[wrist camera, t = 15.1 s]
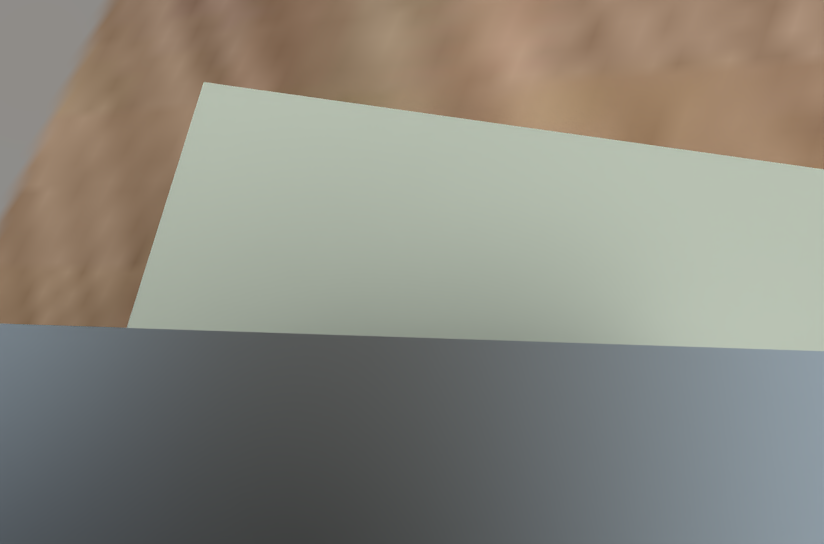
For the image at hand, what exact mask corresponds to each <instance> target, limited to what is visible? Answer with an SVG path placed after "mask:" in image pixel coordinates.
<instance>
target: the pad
mask: <svg viewBox="0 0 824 544" xmlns="http://www.w3.org/2000/svg"><path fill="white" fill-rule="evenodd" d="M127 328H145V329H175V330H204V331H234V332H264V333H294V334H324V335H354V336H384V337H414V338H444V339H473V340H503V341H533V342H563V343H593V344H623V345H653V346H683V347H712V348H742V349H772V350H802V351H824V169H817V168H810V167H803V166H796V165H789V164H781V163H774V162H767V161H760V160H753V159H746V158H739V157H732V156H725V155H717V154H710V153H703V152H696V151H689V150H682V149H675V148H668V147H661V146H654V145H646V144H639V143H632V142H625V141H618V140H611V139H604V138H597V137H590V136H582V135H575V134H568V133H561V132H554V131H547V130H540V129H533V128H526V127H519V126H511V125H504V124H497V123H490V122H483V121H476V120H469V119H462V118H455V117H447V116H440V115H433V114H426V113H419V112H412V111H405V110H398V109H391V108H384V107H376V106H369V105H362V104H355V103H348V102H341V101H334V100H327V99H320V98H312V97H305V96H298V95H291V94H284V93H277V92H270V91H263V90H256V89H249V88H241V87H234V86H227V85H220V84H213V83H206V82H204V83H203V86H202V89H201V93H200V96H199V99H198V102H197V105H196V109H195V112H194V115H193V118H192V121H191V125H190V128H189V131H188V134H187V137H186V140H185V144H184V147H183V150H182V153H181V156H180V160H179V163H178V166H177V169H176V172H175V176H174V179H173V182H172V185H171V188H170V192H169V195H168V198H167V201H166V204H165V208H164V211H163V214H162V217H161V220H160V223H159V227H158V230H157V233H156V236H155V239H154V243H153V246H152V249H151V252H150V255H149V259H148V262H147V265H146V268H145V271H144V275H143V278H142V281H141V284H140V287H139V291H138V294H137V297H136V300H135V303H134V306H133V310H132V313H131V316H130V319H129V322H128V326H127Z"/></svg>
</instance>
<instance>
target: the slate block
mask: <svg viewBox="0 0 824 544" xmlns="http://www.w3.org/2000/svg"><path fill="white" fill-rule="evenodd" d="M0 544H824V351H802V350H772V349H742V348H712V347H683V346H653V345H623V344H593V343H563V342H533V341H503V340H473V339H444V338H414V337H384V336H354V335H324V334H294V333H264V332H234V331H204V330H175V329H145V328H115V327H85V326H55V325H25V324H0Z"/></svg>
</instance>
